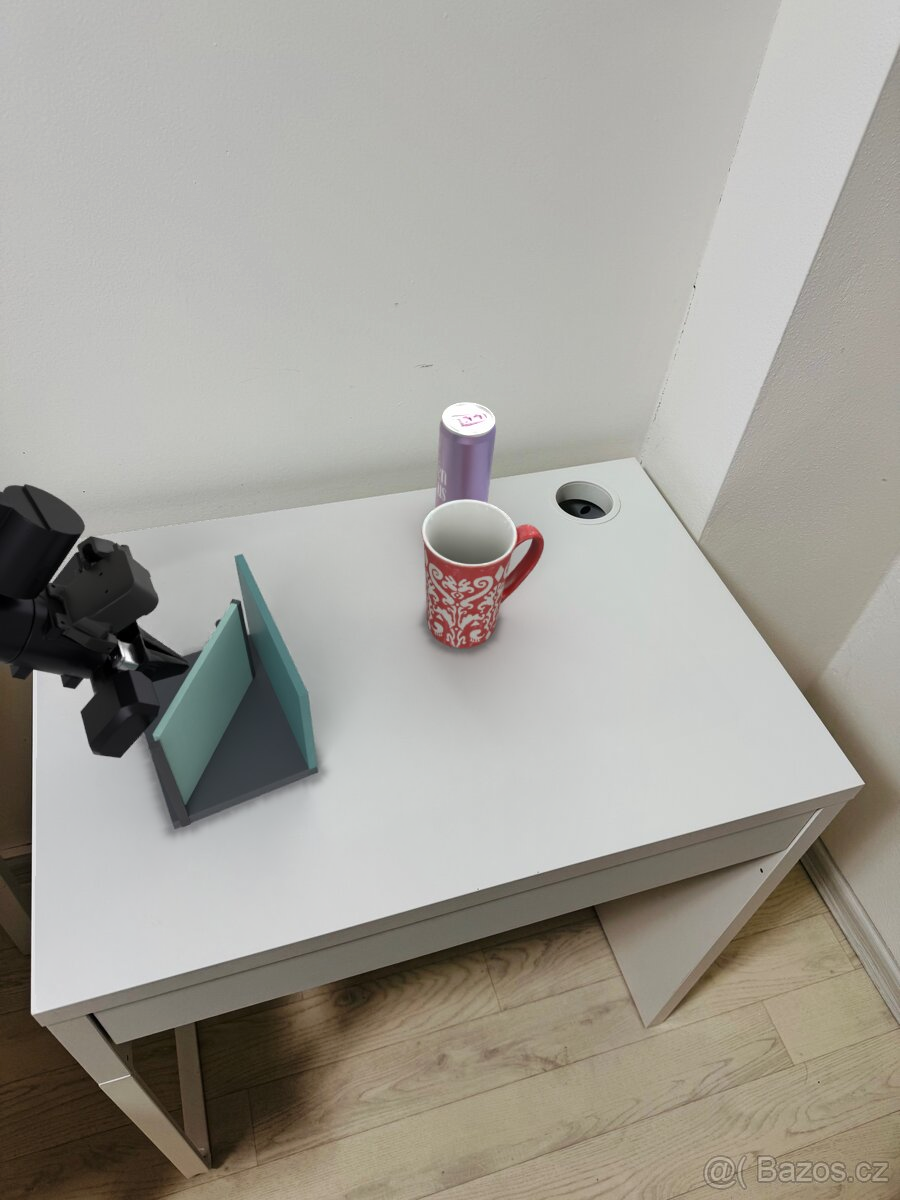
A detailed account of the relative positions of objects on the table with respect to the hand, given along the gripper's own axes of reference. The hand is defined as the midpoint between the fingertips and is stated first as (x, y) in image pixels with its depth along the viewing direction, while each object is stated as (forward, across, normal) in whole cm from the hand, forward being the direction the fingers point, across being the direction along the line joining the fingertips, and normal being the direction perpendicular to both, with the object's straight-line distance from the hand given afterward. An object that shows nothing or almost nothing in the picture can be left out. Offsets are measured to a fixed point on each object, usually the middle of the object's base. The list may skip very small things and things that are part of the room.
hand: (185, 667), depth 75 cm
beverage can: (+29, +13, -20) cm, 37 cm away
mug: (+25, -1, -16) cm, 30 cm away
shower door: (+4, -4, +3) cm, 7 cm away
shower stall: (+5, -3, +4) cm, 7 cm away
